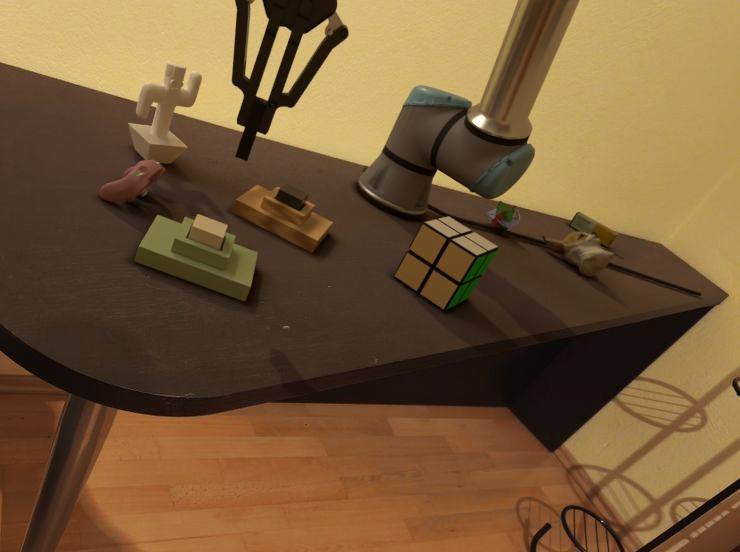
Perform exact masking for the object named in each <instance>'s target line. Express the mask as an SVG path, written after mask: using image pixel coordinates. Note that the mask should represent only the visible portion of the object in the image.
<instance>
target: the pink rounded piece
mask: <svg viewBox="0 0 740 552" xmlns="http://www.w3.org/2000/svg"><path fill="white" fill-rule="evenodd" d="M165 172H166V168H165V167H164V165H163V163H159V162H156V161H155V160H154V158H153V160H145V159H143V160H140V161H138V162H137V163H136V165H134V166H130V167H129V168H127V169H126V170H125V171H124V173H123V177H122V178H120V179H118V180H114V181H111V182H108V183H105V184H103V186H101V187H100V189H99V191H98V192H99V196H100V198H101V199H102V200H103V201H106V202H110V203H119V202H124V201H126V202H127V203H131V202H132V201H134V199H136V198H137V196H138V197H139V196H140V197H141V198H142V197H145V196H146V195H148V191H149V190H147V189H148V188H149V187H150V186H151V185H152V184H153V183H156V182H157V181H158V180H159V179H160V178H161V177H162V175H163V174H164V173H165Z"/></svg>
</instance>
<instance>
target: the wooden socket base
mask: <svg viewBox="0 0 740 552" xmlns="http://www.w3.org/2000/svg"><path fill="white" fill-rule="evenodd" d="M280 188H281V187H279V186H276V187H274V188H273V189H272V190H269V189H267V188H265V187H264V186H261V185H260V184H256V185H254V186H253V187H252V188H251V189H249V190H247V191H245V193H243V194H242V195H240V196H238V197H237V198H236V199H235V201H234V202H233V203H234V204H233V206H232V209H231V213H232V214H234V215H237V216H238V217H241V218H242V219H244V220H246V221H248V222H250V223H252V224H254V225H256V226H258V227H260V228H262V229H264V230H266V231H267V232H270V233H272V234H273V235H276V236H278V237H280V238H282V239H284V240H286V241H288V242H290V243H292V244H294V245H296V246H298V247H300V248H302V249H303V250H306V251H308V252H310V253H314V251H316V249H317V248H318V246H320V244H321V243H322V242H323V240H325V238H326V237H327V235H329V232H330V230H331V229H332V226H333V224H334V222H333V221H331V220H329V219H328V218H325V217H324V216H321V215H319V214H318V213H316V212H314V211H315V207H316V204H313V202H310V201H308V200H306V203H305V205H304V206H303V207H302V208H301V209H300V210H299V211H298V210H296V209H294V208H292V207H290V206H288V205H286V204H284V203H282V202H280V201H278V200H276V199H275V198H276V195H277V193H278V190H279V189H280Z"/></svg>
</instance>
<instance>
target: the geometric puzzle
mask: <svg viewBox="0 0 740 552" xmlns="http://www.w3.org/2000/svg"><path fill="white" fill-rule="evenodd" d="M508 204H509V205H508ZM495 205H496V204H495ZM495 205H493V207H495ZM484 215H485V217H486V220H489V219H488V217H490V218H491V219H492V220H491V222H490V224H489V225H490V226H493V227H497V228H501V229H499V230H505V233H504V234H503V233H500V232H496V231H495V233H496V234H499V235H500V234H501V235H503V236H506V235H507V233H506V232H507V231H506V230H509V231H511V232H512V228H514V227H516V226H518V225H520V224H521V213H520V211H519V209H518V208H517V206H516V205H514V204H511V203H507V202H505V201H502V200H501V199H500V200H499V201H498V203H497V206H496V207H495V208H493V209H491V208H490V209H488V210H487V211H486V212H484ZM487 216H488V217H487ZM488 222H489V221H487V224H488ZM488 231H490V232H491V230H488Z"/></svg>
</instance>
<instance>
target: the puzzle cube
mask: <svg viewBox="0 0 740 552" xmlns="http://www.w3.org/2000/svg"><path fill="white" fill-rule="evenodd" d="M472 231H473V230H472V229H471V228H469V227H467V226H465V225H464V224H462V223H461V222H459V221H456V220H454V219H452V218H451V217H449V216H448V217H444V216H443V217H440V218H436V219H432V220H427V221H423V222H421V224H420V226H419V228H418V229H417V230H416V233H415V235H414V237H413V238H412V241H411V242H410V244H409V246H408V250H406V251H405V253H404V254H403V256H402V259H401V260H400V262H399V264H398V266H397V268H396V270H395V272H394V274H393V277H394V279H396V280H397V281H399V282H400V283H402V284H403V285H404V286H406V287H408V288H409V289H411V291H414V292H415V293H419V296H421V297H422V298H424V299H425V300H427V301H428V302H429V303H430V304H433V306H435V307H437V308H438V309H439V310H441V311H443V312H444V311H448V310H449V309H451V308H453V307H455V306H456V305H458V304H460V303H462V302H464V301H466V300H468V299H469V298H470V296H471V294H472V293H473V291H474V290H475V288H476V287H477V285H478V284H479V282H480V280H481V279H482V277H483V274H484V273H485V272H486V271H487V269H488V267H489V266H490V264H491V263H492V261H493V260H494V258H495V257H496V256H497V253H498V252H499V251H500V250H499V246H498V245H496V244H495V243H493V242H491V241H489V240H488V239H487V238H485V237H483V236H482V235H480V234H478V233H477V232H475V231H474V232H472Z"/></svg>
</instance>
